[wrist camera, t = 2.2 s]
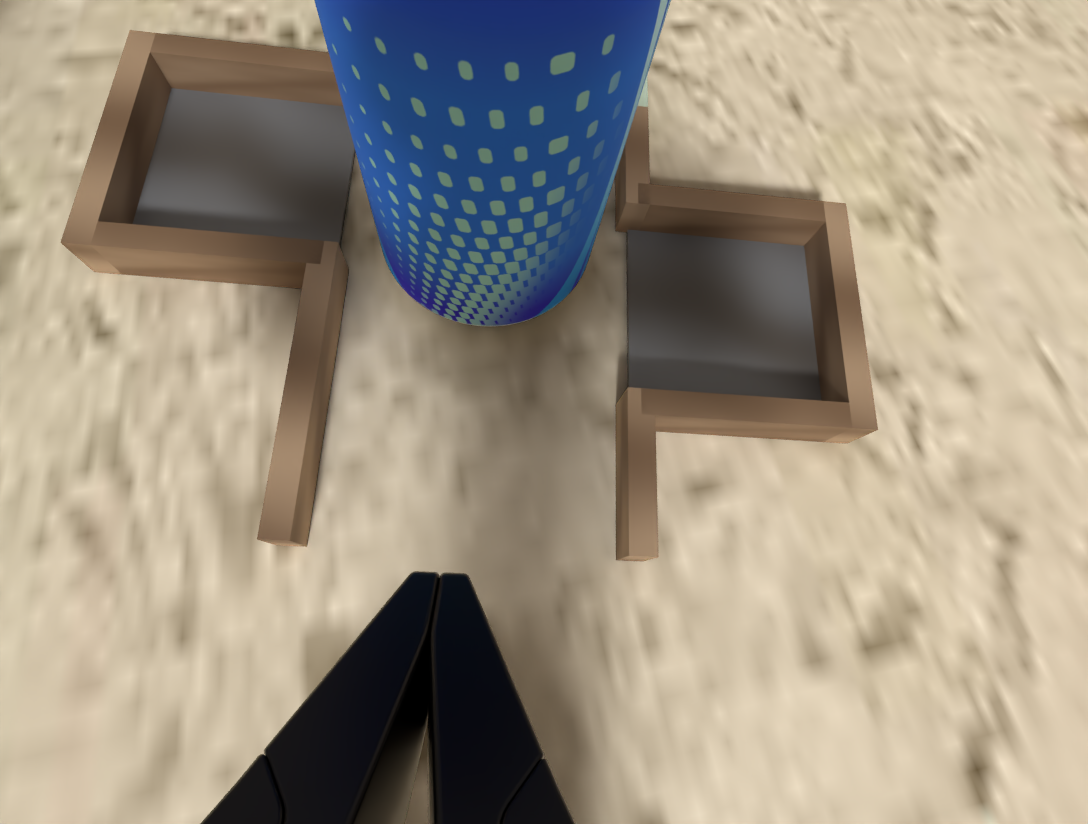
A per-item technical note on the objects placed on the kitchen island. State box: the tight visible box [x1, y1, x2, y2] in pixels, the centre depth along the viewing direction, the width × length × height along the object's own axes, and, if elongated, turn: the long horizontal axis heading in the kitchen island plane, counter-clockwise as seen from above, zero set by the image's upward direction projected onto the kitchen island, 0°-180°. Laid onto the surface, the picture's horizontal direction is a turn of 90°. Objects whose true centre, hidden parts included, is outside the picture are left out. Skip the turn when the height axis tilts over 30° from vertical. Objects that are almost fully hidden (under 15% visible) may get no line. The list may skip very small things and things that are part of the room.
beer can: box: [315, 0, 671, 326], centre depth 18 cm, size 8×8×16 cm
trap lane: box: [61, 30, 878, 561], centre depth 24 cm, size 28×30×4 cm
